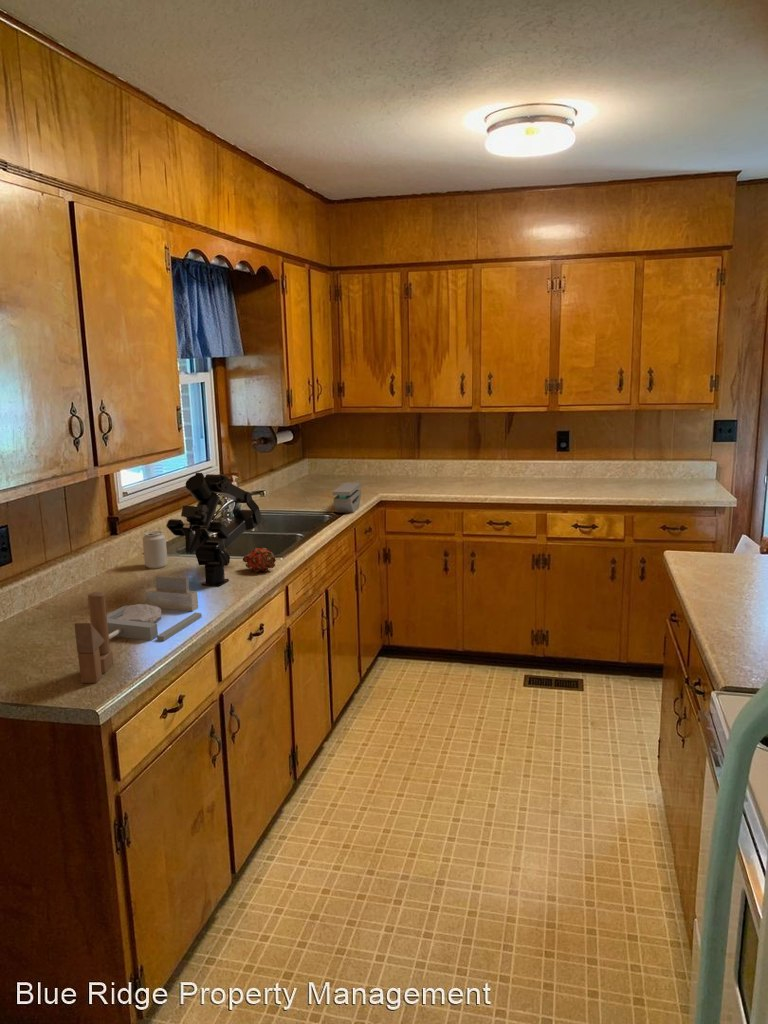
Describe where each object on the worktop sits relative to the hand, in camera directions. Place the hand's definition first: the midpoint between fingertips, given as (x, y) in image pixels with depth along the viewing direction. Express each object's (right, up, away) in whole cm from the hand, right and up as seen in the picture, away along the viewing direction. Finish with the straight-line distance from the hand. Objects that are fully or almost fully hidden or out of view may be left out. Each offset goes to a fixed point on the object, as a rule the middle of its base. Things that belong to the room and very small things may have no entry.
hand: (188, 553), depth 220 cm
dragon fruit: (+16, -8, +29) cm, 34 cm away
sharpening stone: (+42, +13, +123) cm, 130 cm away
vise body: (-9, -19, -25) cm, 32 cm away
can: (-20, -7, +36) cm, 42 cm away
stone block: (-8, -19, -19) cm, 27 cm away
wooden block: (-7, -25, -50) cm, 57 cm away
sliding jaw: (-3, -15, -6) cm, 17 cm away
